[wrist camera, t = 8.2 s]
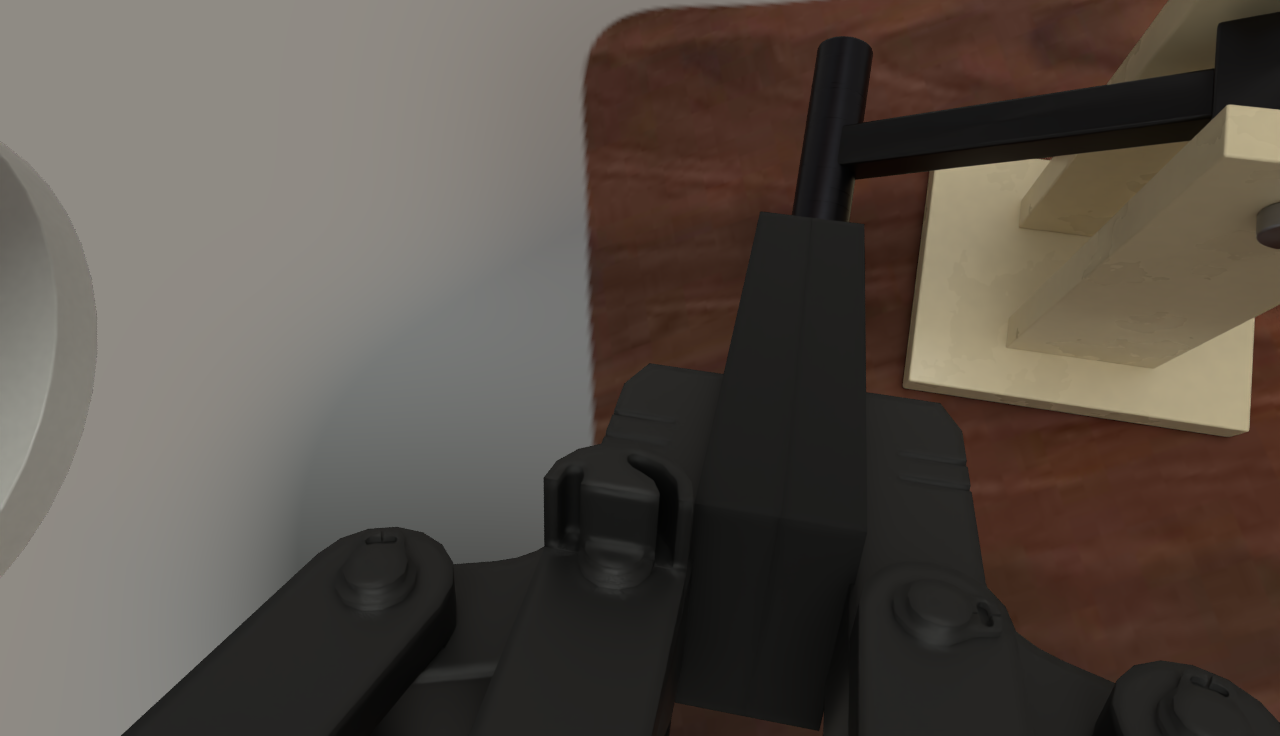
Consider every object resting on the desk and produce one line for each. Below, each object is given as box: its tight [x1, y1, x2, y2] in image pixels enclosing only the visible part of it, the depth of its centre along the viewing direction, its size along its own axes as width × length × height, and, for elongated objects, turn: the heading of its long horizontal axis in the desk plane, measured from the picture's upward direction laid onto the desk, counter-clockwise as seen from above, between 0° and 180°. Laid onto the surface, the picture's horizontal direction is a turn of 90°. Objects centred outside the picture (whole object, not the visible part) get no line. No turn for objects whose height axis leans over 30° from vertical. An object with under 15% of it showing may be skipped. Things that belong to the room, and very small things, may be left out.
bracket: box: [903, 0, 1280, 437], centre depth 23 cm, size 10×8×15 cm
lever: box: [792, 12, 1280, 222], centre depth 21 cm, size 12×6×2 cm
